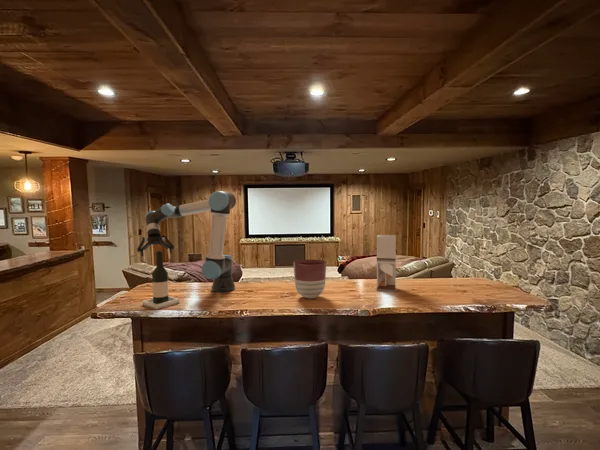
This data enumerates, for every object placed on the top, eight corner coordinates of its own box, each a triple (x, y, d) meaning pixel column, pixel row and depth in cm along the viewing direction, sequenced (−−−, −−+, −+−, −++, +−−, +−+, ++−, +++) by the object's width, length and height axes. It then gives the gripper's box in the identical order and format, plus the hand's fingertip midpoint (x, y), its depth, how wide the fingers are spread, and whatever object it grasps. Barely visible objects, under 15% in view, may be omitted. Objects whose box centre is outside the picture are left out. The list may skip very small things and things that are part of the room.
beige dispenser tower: (376, 290, 214) (376, 236, 212) (377, 286, 224) (377, 235, 222) (395, 291, 211) (395, 236, 209) (395, 287, 221) (395, 235, 219)
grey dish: (165, 299, 199) (165, 295, 198) (179, 303, 190) (179, 298, 190) (142, 305, 187) (142, 300, 187) (156, 309, 179) (156, 304, 179)
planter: (324, 302, 188) (323, 265, 187) (290, 301, 192) (290, 264, 191) (328, 293, 207) (328, 259, 206) (297, 292, 211) (297, 259, 210)
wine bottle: (155, 305, 183) (153, 251, 181) (151, 302, 190) (149, 250, 188) (170, 303, 188) (169, 250, 186) (166, 299, 195) (165, 248, 193)
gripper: (174, 234, 216) (179, 261, 204) (131, 237, 204) (133, 265, 191) (175, 227, 211) (180, 253, 199) (131, 228, 199) (133, 257, 186)
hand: (157, 259), depth 195 cm, fingers open, 13 cm apart
